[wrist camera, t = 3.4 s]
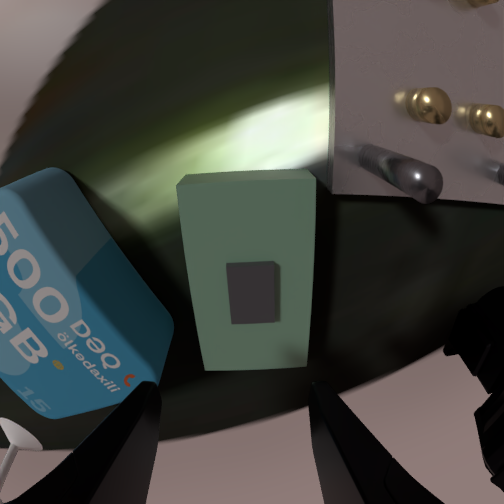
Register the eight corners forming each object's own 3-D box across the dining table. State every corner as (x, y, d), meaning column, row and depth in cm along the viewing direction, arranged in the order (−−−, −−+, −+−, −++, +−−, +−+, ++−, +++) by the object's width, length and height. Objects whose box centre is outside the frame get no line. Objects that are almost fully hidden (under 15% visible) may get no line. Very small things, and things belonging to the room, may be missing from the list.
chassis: (499, -34, 8) (559, -51, 2) (506, 200, 14) (573, 239, 9) (317, -96, 8) (344, -160, 2) (326, 188, 14) (371, 237, 9)
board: (305, 167, 14) (318, 180, 12) (300, 337, 19) (307, 371, 16) (187, 173, 15) (173, 187, 12) (209, 341, 19) (204, 375, 16)
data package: (-69, 289, 12) (5, 173, 9) (-31, 258, 16) (60, 153, 13) (46, 422, 16) (172, 389, 14) (68, 380, 20) (186, 330, 18)
